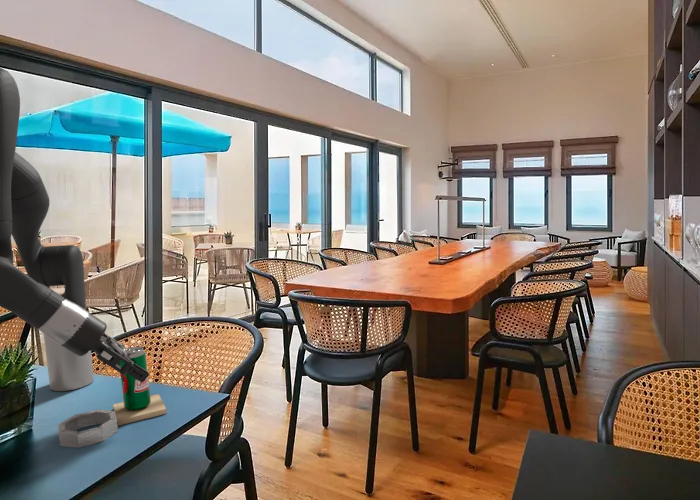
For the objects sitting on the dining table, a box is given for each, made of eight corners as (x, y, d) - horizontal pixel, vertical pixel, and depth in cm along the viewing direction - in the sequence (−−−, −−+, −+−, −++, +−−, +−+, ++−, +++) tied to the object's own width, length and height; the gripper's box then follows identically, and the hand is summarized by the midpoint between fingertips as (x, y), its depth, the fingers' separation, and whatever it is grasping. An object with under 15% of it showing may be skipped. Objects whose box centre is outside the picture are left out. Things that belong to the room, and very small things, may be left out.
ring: (59, 431, 95) (58, 418, 95) (114, 417, 100) (113, 405, 99) (60, 452, 87) (58, 439, 87) (119, 437, 92) (118, 424, 91)
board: (113, 408, 104) (113, 404, 104) (158, 398, 108) (158, 393, 108) (118, 425, 96) (117, 420, 96) (166, 413, 101) (166, 408, 101)
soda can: (141, 412, 99) (134, 354, 98) (118, 411, 100) (112, 353, 99) (156, 401, 104) (150, 346, 103) (134, 400, 105) (128, 345, 104)
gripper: (89, 318, 90) (161, 366, 97) (85, 304, 102) (149, 347, 109) (58, 353, 88) (135, 399, 95) (58, 334, 100) (126, 376, 107)
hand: (143, 371), depth 102 cm, fingers open, 8 cm apart
